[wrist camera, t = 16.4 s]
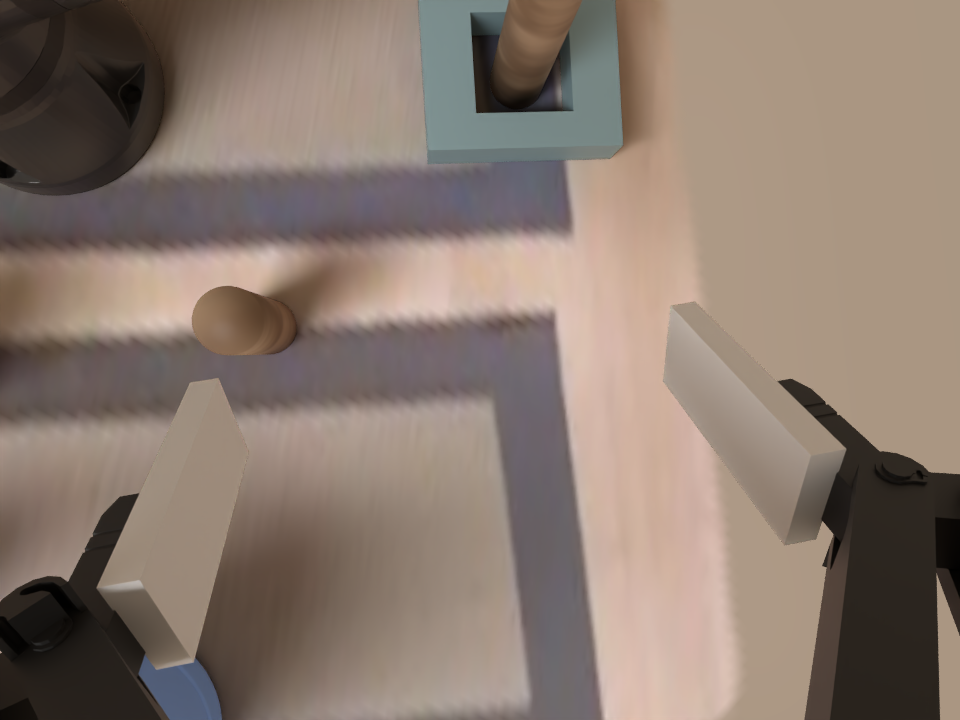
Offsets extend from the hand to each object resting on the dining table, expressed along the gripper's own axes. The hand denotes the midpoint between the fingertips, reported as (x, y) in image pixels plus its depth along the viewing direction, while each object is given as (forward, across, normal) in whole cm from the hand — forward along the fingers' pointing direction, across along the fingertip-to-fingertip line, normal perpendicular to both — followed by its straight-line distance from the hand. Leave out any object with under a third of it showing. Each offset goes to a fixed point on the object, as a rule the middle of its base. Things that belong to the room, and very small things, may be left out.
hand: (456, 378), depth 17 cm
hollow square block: (+34, +9, +3) cm, 35 cm away
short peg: (+25, -12, -10) cm, 30 cm away
